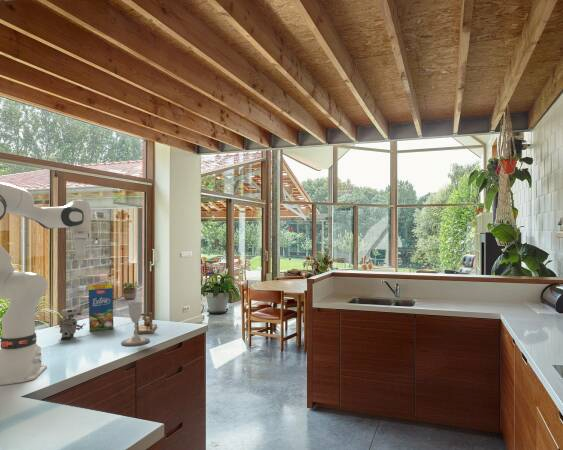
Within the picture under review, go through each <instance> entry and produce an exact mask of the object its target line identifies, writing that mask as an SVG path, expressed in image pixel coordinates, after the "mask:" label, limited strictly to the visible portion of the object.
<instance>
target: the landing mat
mask: <svg viewBox="0 0 563 450" xmlns="http://www.w3.org/2000/svg"><path fill="white" fill-rule="evenodd" d="M140 338H141V341H138V342H131V339H132V337H131V338H127V339H124V340H121V342H120V344H121V345H122V346H124V347H136V346H138V347H139V346H143V345H146V344H149V343H150V342H151V341H150V338H148V337H140Z"/></svg>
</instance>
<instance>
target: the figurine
mask: <svg viewBox="0 0 563 450" xmlns="http://www.w3.org/2000/svg"><path fill="white" fill-rule="evenodd" d="M82 311H83V310H82V309H81V307H79V306H78V307H73V308H66V309H62V310H60V311H59V316H61V317H62V316H63V318H62V319H61V320H60V321H59V323H58V324H59V325H58V327H59V333H60V334H61V339H60V340H61V341H68V340H71V339H72V337H73V336H75V334H76V331H80V330H83V329H84V328H83V327H84V326H86V323H83V324H82V325H80V324H78V319H75V318H74V317H76V316H81V315H82Z"/></svg>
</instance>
